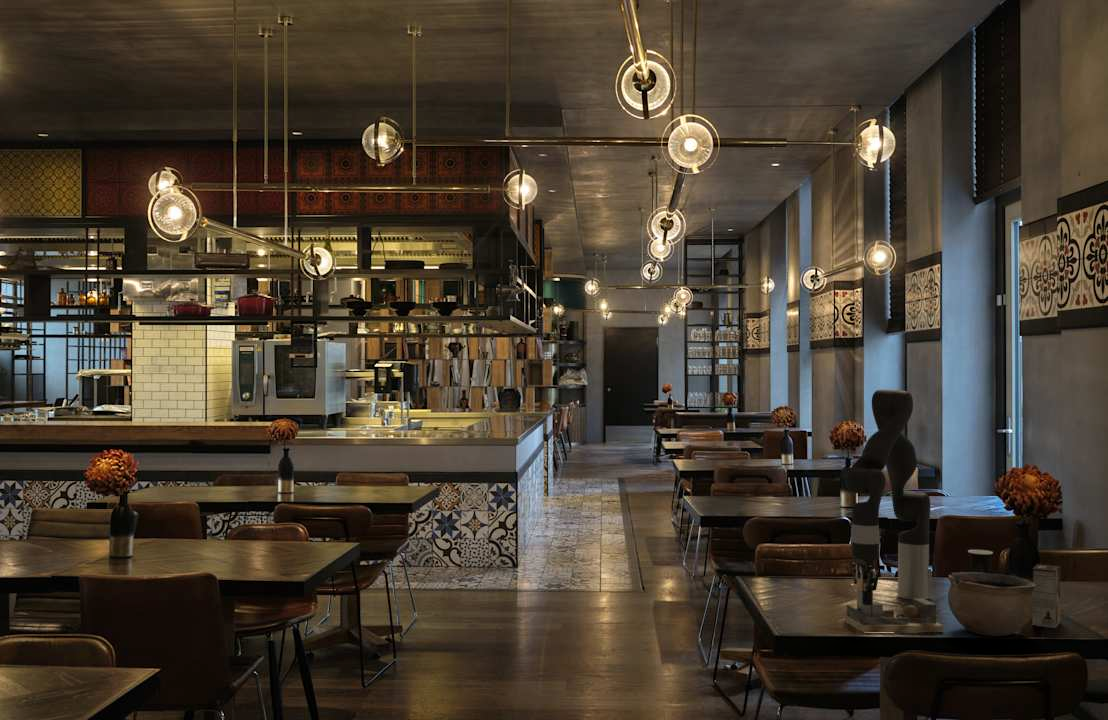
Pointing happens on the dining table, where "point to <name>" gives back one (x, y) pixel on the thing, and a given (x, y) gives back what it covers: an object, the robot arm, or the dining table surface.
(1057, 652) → the dining table surface
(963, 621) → the ceramic bowl
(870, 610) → the lever
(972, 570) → the dixie cup
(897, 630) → the base
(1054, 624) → the coffee box
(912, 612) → the walnut
